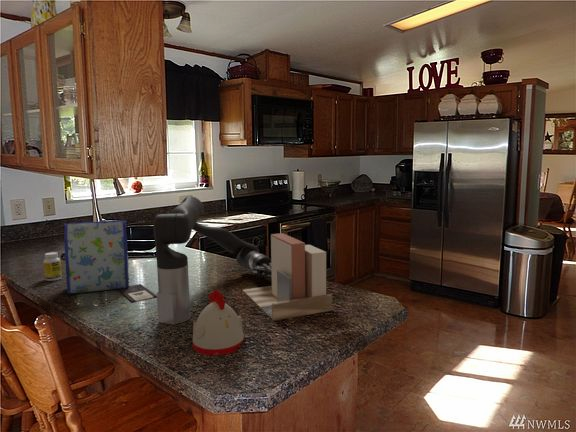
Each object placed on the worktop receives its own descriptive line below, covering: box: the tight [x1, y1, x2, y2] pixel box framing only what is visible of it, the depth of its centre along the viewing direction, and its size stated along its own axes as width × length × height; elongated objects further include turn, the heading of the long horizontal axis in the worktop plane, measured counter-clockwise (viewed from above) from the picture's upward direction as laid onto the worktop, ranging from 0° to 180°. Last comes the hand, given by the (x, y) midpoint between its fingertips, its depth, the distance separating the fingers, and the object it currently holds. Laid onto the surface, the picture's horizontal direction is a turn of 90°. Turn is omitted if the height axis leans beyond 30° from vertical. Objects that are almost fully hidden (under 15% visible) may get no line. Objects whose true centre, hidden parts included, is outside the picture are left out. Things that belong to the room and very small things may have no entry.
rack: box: [242, 285, 333, 321], centre depth 148 cm, size 32×20×6 cm, turn 23°
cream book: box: [305, 244, 327, 298], centre depth 141 cm, size 12×5×19 cm, turn 23°
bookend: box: [261, 270, 291, 319], centre depth 136 cm, size 10×6×12 cm, turn 23°
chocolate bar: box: [116, 283, 157, 303], centre depth 159 cm, size 9×1×18 cm
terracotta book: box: [270, 232, 306, 300], centre depth 144 cm, size 18×5×22 cm, turn 24°
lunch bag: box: [63, 219, 130, 294], centre depth 166 cm, size 22×17×26 cm
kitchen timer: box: [192, 289, 245, 356], centre depth 116 cm, size 14×14×15 cm
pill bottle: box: [43, 251, 63, 282], centre depth 178 cm, size 6×6×11 cm
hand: (277, 275), depth 153 cm, fingers closed
